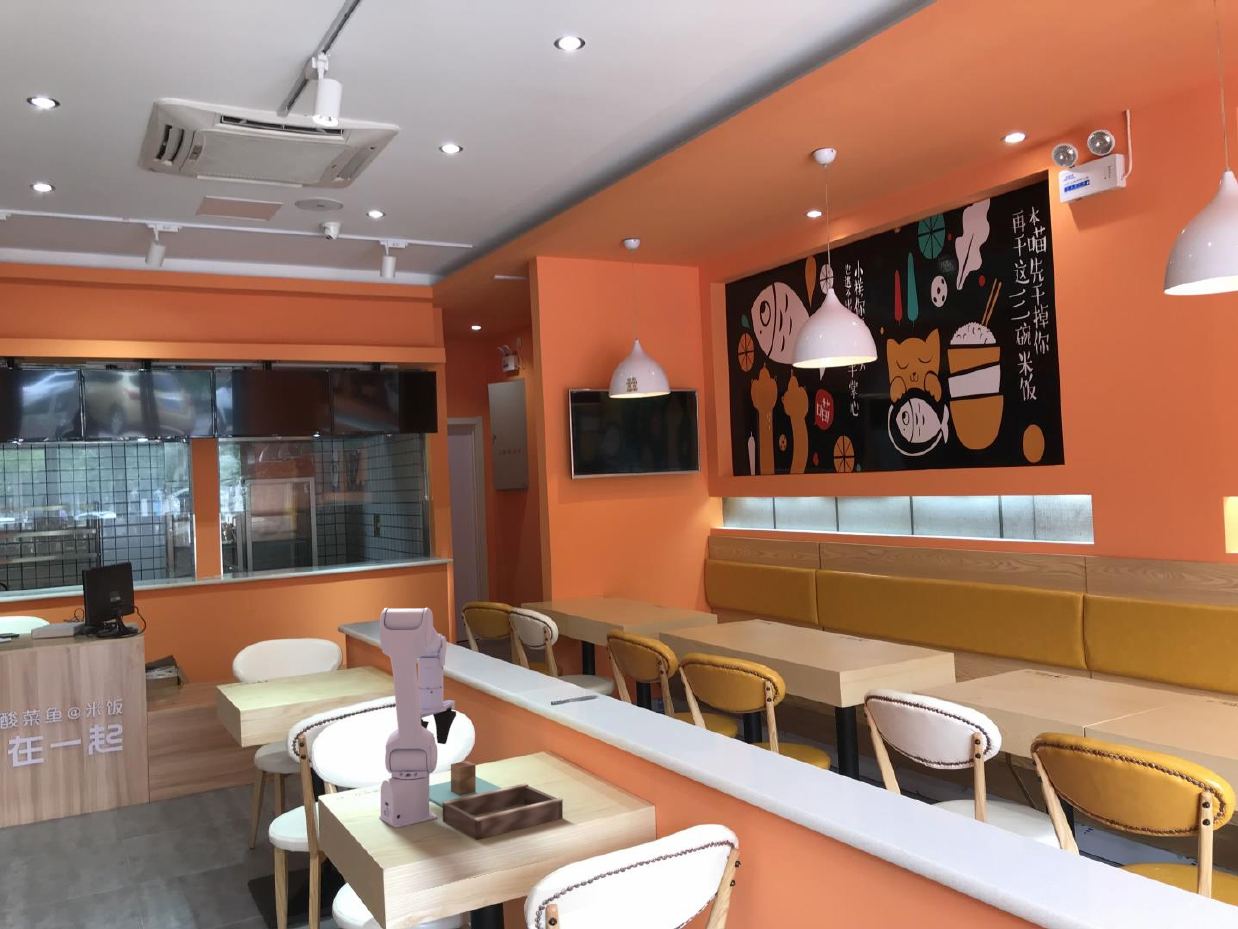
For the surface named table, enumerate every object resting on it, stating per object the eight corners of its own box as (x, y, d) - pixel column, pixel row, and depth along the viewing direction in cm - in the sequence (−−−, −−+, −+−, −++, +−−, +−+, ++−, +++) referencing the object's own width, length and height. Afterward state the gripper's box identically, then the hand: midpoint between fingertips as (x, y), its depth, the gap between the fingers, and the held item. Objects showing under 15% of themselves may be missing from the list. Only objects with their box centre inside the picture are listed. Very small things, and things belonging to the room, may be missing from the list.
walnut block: (459, 795, 212) (459, 768, 212) (450, 791, 215) (450, 764, 216) (475, 792, 215) (475, 764, 215) (466, 787, 218) (466, 761, 218)
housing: (477, 840, 186) (477, 820, 186) (442, 820, 197) (442, 801, 197) (562, 818, 199) (562, 799, 199) (525, 801, 210) (525, 783, 210)
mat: (446, 809, 204) (446, 807, 204) (412, 791, 217) (412, 789, 217) (511, 794, 214) (511, 792, 214) (475, 778, 227) (475, 776, 227)
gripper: (422, 694, 211) (422, 757, 211) (465, 683, 224) (465, 742, 223) (398, 691, 215) (398, 752, 214) (441, 680, 227) (441, 738, 227)
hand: (430, 747), depth 219 cm, fingers open, 7 cm apart
